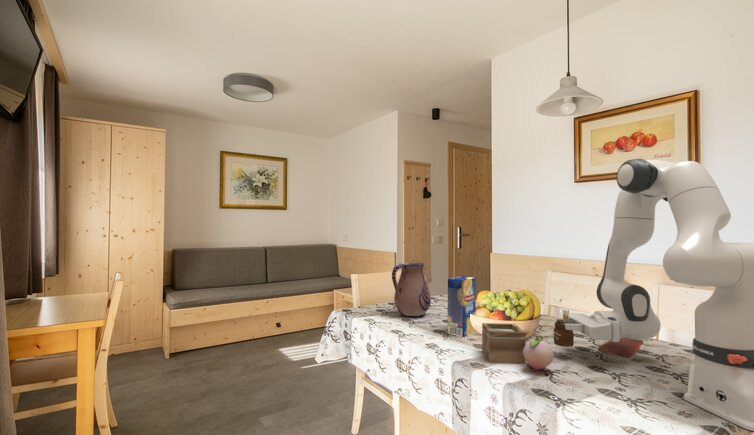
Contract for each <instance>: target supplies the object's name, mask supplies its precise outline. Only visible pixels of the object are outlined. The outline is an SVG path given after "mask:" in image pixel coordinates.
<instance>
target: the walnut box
mask: <svg viewBox="0 0 754 435" xmlns="http://www.w3.org/2000/svg"><path fill="white" fill-rule="evenodd" d="M481 328H482V330H481V336H482V338H481V348H482V349H481V350H482V351H481V352H482V353H483V355H484V356H485V358H486V359H487V361H488V363H496V364H497V363H499V364H526V363H527V362H526V360H525V358H524V355H523V349H524V347H525V345H526V343H527V342H526V340H527V339H526V332H525V331H524V330H522V328H520V326H518V325H517V324H516V323H496V322H495V323H493V322H491V323H490V322H489V323H488V322H482V323H481Z"/></svg>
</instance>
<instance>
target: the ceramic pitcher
mask: <svg viewBox="0 0 754 435" xmlns="http://www.w3.org/2000/svg"><path fill="white" fill-rule="evenodd" d="M424 266H425V264H424V263H423V262H410V261H409V262H401V263H399V264H396V265H395V266H394V267H393V269H392V272H391V281H392V284H393V287H394V290H395V291H394V296H393V301H394V305H395V307H396V311H398V312H399V313H400V315H402V314H403V315H402V316H404V315H406V316H405V317H407V316H419V315H422V316H424V315H425V314H426V313H427V311H428V310H429V307H430V306H431V302H432V300H431V298H432V297H431V292H430V288H429V287H430V286H429V283H428V278H427V277H426V274H425V272H424ZM399 269H401V272H400V276H399V278H398V281H397V272H398V270H399ZM419 317H420V316H419Z"/></svg>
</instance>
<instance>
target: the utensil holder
mask: <svg viewBox="0 0 754 435" xmlns="http://www.w3.org/2000/svg"><path fill="white" fill-rule="evenodd" d="M558 312H562V317H560V316H559V315H558V319H559V320H560V319H561V318H563V319H565V322H561V321H558V322H556V321H555V322H554V328H553V343H554V345H556V346H559V347H563V348H572V347H573V346H574V344H575V343H574V340H575V339H574V336H575V335H574V331H573V330H566V329H565V328H564V323H568V322H566V320H567V319H568V314H569V313H570V311H569V309H563V310H562V309H561V310H560V309H559V311H558ZM564 313H565V316H564ZM566 313H567V316H566ZM561 320H562V319H561ZM570 324H571V323H570Z"/></svg>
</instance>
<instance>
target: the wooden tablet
mask: <svg viewBox="0 0 754 435" xmlns="http://www.w3.org/2000/svg"><path fill="white" fill-rule="evenodd" d="M643 344H644V341H643V339H626V338H620V339H619V342H612V341H610V340H607V342H604V343H602V344H601V345H600V346H598V348H597V352H600V353H605V354H611V355H613V356H617V357H621V358H630V357H631V356H634V355H635V354H636V353H637V352H638V351H639V349H640V348H641V347H642V345H643Z"/></svg>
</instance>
